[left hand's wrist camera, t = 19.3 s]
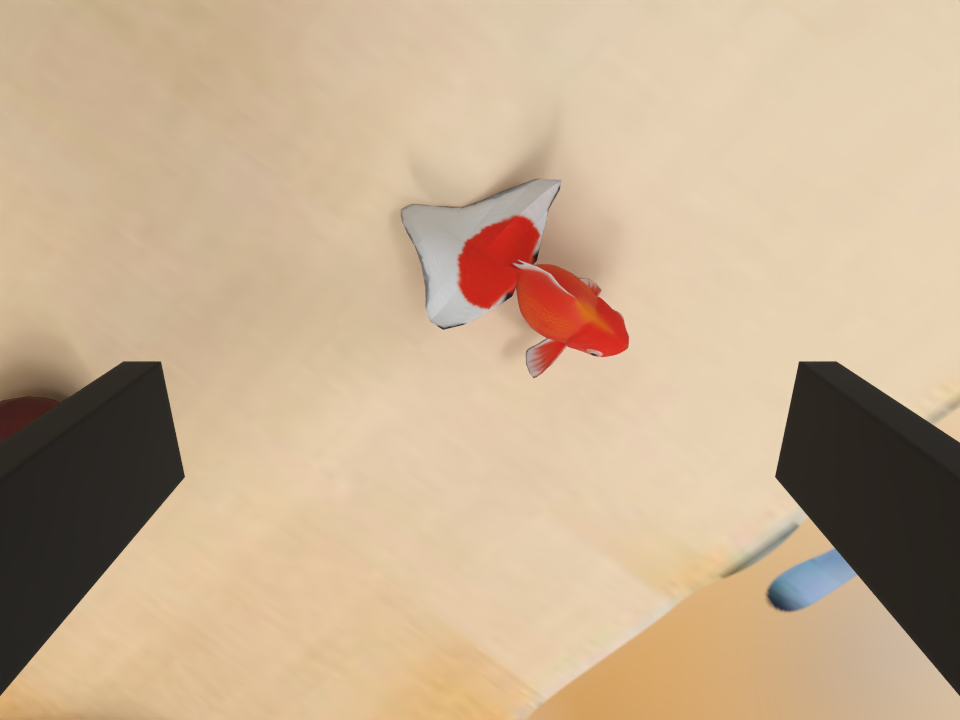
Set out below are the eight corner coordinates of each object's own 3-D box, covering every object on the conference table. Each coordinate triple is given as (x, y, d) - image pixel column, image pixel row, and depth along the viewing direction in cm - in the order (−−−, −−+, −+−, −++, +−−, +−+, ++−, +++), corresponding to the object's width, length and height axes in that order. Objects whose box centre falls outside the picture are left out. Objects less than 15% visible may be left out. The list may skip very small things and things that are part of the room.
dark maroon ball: (-14, 427, 45) (-98, 478, 39) (39, 359, 43) (-40, 401, 37) (73, 486, 47) (6, 544, 40) (127, 423, 45) (67, 474, 38)
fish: (519, 439, 40) (527, 427, 30) (379, 267, 43) (345, 206, 33) (639, 340, 41) (684, 298, 31) (496, 179, 44) (496, 93, 34)
